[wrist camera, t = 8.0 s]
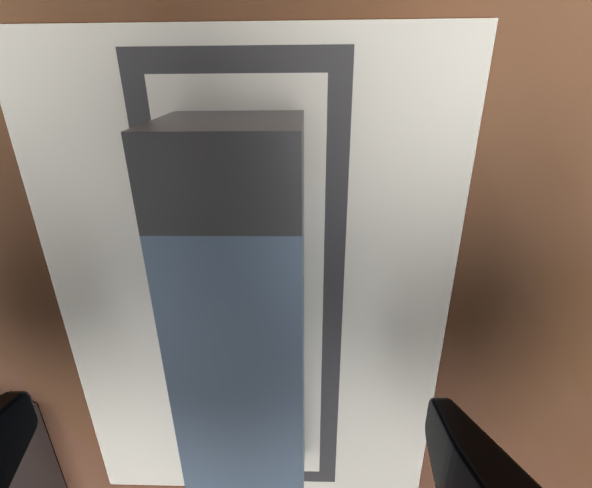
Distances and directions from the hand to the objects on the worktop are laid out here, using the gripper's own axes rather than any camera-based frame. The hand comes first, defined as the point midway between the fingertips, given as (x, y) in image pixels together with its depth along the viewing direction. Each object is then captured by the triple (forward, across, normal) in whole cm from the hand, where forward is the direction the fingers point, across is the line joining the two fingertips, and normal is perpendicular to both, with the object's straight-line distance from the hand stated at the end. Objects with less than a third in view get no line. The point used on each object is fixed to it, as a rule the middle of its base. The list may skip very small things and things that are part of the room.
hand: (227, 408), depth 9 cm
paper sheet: (+4, 0, 0) cm, 4 cm away
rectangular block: (+4, 0, 0) cm, 4 cm away
